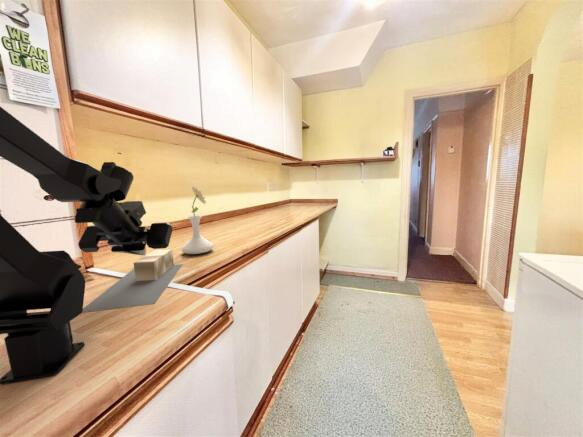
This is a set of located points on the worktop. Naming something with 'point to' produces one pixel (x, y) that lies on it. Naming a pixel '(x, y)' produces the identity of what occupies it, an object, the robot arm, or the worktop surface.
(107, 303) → the rubber mat
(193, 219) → the flower in vase
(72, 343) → the robot arm
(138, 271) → the birch block
